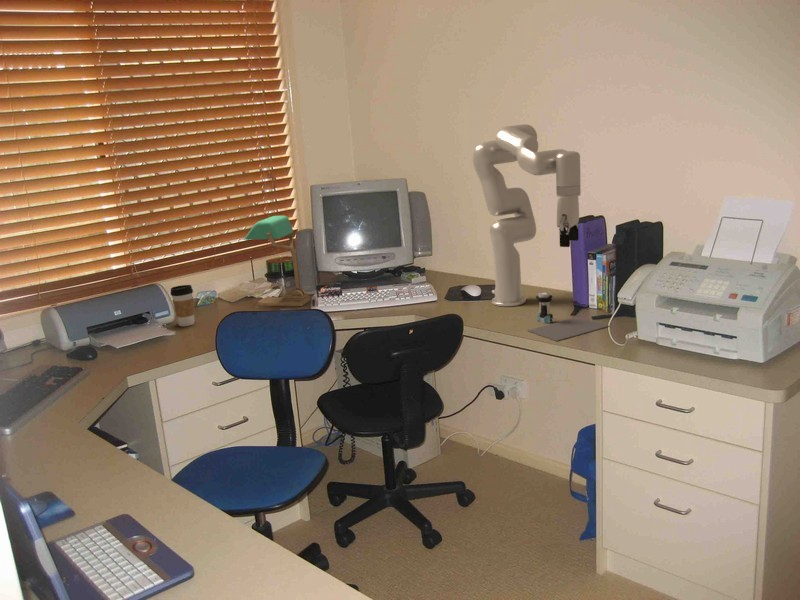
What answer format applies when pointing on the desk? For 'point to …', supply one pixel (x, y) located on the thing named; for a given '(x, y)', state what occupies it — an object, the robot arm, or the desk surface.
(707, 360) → the desk surface
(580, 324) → the mat
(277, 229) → the banker's lamp
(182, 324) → the coffee cup
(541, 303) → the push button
